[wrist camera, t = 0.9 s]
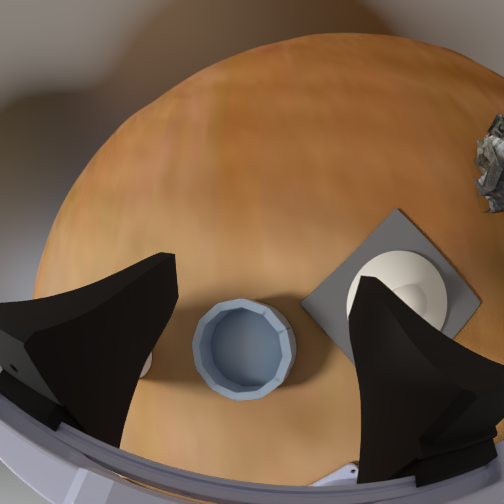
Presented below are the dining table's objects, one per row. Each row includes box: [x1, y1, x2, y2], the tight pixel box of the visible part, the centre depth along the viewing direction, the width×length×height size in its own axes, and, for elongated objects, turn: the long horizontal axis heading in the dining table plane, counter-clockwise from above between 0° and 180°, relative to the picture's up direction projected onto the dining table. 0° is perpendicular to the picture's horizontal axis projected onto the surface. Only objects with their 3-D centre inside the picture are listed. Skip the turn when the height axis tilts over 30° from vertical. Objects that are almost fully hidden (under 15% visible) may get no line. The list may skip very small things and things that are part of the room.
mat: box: [300, 208, 481, 365], centre depth 21 cm, size 12×12×1 cm
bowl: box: [192, 298, 297, 401], centre depth 23 cm, size 8×8×3 cm
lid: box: [347, 251, 447, 331], centre depth 19 cm, size 9×9×4 cm
